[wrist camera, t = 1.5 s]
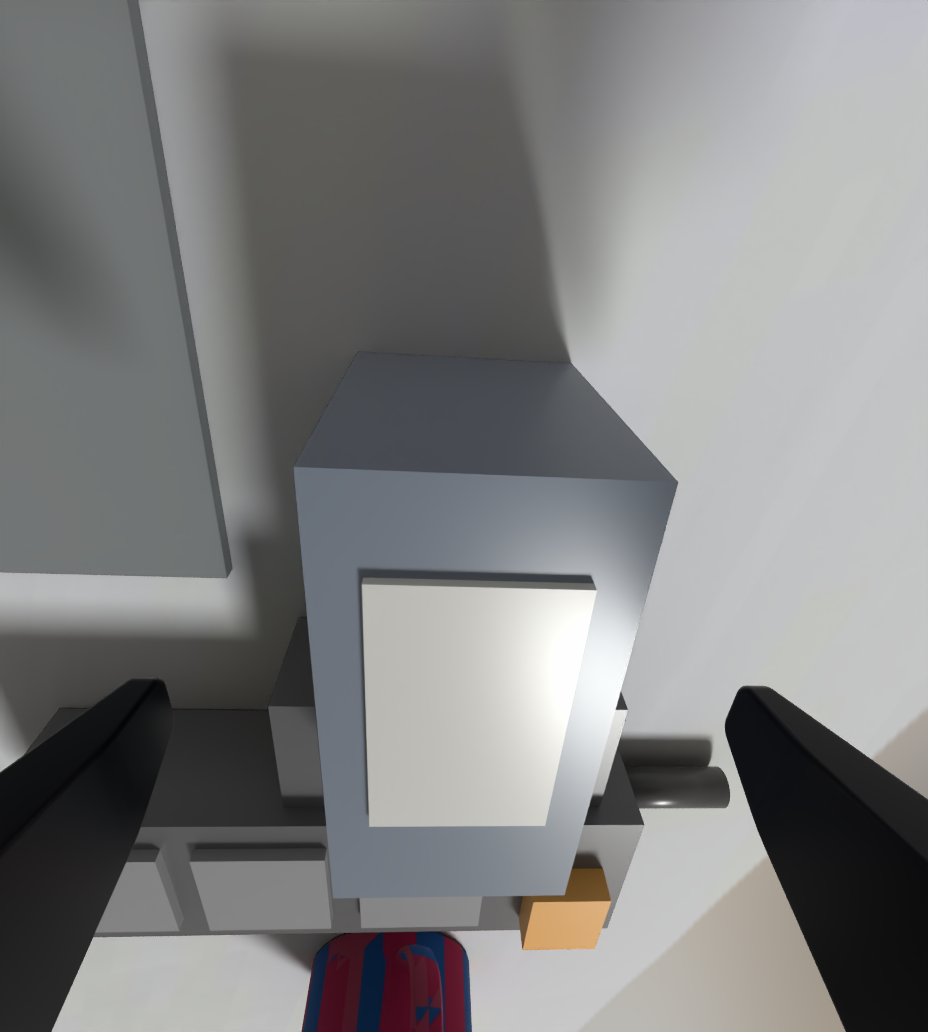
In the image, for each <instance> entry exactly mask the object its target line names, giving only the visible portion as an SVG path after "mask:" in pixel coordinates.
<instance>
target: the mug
mask: <svg viewBox="0 0 928 1032" xmlns="http://www.w3.org/2000/svg"><path fill="white" fill-rule="evenodd" d="M302 1032H472V1024H471V1001H470V977H469V960H468V957H467V954H466V953H465V952H464V950H463V949H462V947H461V946H460V945H459V944H458V943H456V942H455V941H454V940H452V939H451V938H449V937H447V936H445V935H443V934H440V933H438V932H435V931H421V932H364V933H347V934H344V935H341V936H339V937H337V938H335V939H333V940H332V941H330V942H329V943H327V944H326V945H325V946H324V947H323V948H322V949H321V950H320V951H319V952H318V953H317V955H316V957H315V959H314V961H313V966H312V972H311V978H310V984H309V990H308V996H307V1002H306V1008H305V1014H304V1020H303V1026H302Z"/></svg>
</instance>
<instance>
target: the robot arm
mask: <svg viewBox="0 0 928 1032" xmlns="http://www.w3.org/2000/svg"><path fill="white" fill-rule="evenodd" d="M173 725H174V716H173V711H172V708H171V704H170V700H169V696H168V693H167V689H166V685H165V683H164V681H163V680H162V679H160V678H132V679H130V680H128V681H127V682H125V683H124V684H122V685H121V686H120V687H118V688H117V689H115V690H114V691H113V692H111V693H110V694H108V695H107V696H106V697H104V698H103V699H102V700H100V701H99V702H97V703H96V704H95V705H93V706H92V707H90V708H89V709H88V710H86V711H85V712H83V713H82V714H81V715H79V716H78V717H76V718H75V719H74V720H72V721H71V722H69V723H68V724H67V725H65V726H64V727H63V728H61V729H60V730H58V731H57V732H56V733H54V734H53V735H51V736H50V737H49V738H47V739H46V740H44V741H43V742H42V743H40V744H39V745H37V746H36V747H35V748H33V749H32V750H30V751H29V752H28V753H26V754H25V755H24V756H22V757H21V758H19V759H18V760H17V761H15V762H14V763H12V764H11V765H10V766H8V767H7V768H5V769H4V770H3V771H1V772H0V1032H51V1031H52V1029H53V1027H54V1024H55V1022H56V1020H57V1018H58V1015H59V1013H60V1011H61V1009H62V1006H63V1004H64V1002H65V1000H66V997H67V995H68V993H69V991H70V988H71V986H72V984H73V982H74V979H75V977H76V975H77V973H78V970H79V968H80V966H81V964H82V961H83V959H84V957H85V954H86V952H87V950H88V948H89V945H90V943H91V941H92V939H93V936H94V934H95V932H96V930H97V927H98V925H99V923H100V921H101V918H102V916H103V914H104V912H105V909H106V907H107V905H108V903H109V900H110V898H111V896H112V894H113V891H114V889H115V887H116V885H117V882H118V880H119V878H120V876H121V873H122V871H123V869H124V867H125V864H126V862H127V860H128V858H129V855H130V853H131V851H132V848H133V846H134V843H135V841H136V839H137V836H138V834H139V831H140V828H141V825H142V822H143V820H144V817H145V814H146V811H147V808H148V805H149V801H150V798H151V795H152V792H153V789H154V786H155V783H156V780H157V777H158V774H159V771H160V768H161V765H162V762H163V759H164V755H165V752H166V749H167V746H168V743H169V740H170V737H171V734H172V731H173ZM725 733H726V737H727V740H728V743H729V746H730V749H731V752H732V755H733V758H734V761H735V765H736V768H737V771H738V774H739V777H740V780H741V783H742V786H743V789H744V792H745V795H746V798H747V801H748V804H749V807H750V810H751V813H752V816H753V819H754V821H755V824H756V827H757V830H758V832H759V835H760V837H761V839H762V842H763V844H764V847H765V849H766V851H767V854H768V856H769V858H770V860H771V863H772V865H773V867H774V869H775V872H776V874H777V876H778V879H779V881H780V883H781V885H782V888H783V890H784V892H785V894H786V897H787V899H788V901H789V904H790V906H791V908H792V910H793V912H794V915H795V917H796V920H797V922H798V924H799V926H800V929H801V931H802V933H803V935H804V938H805V940H806V942H807V945H808V947H809V949H810V951H811V953H812V956H813V958H814V960H815V963H816V965H817V967H818V970H819V972H820V974H821V976H822V978H823V981H824V983H825V985H826V988H827V990H828V992H829V995H830V997H831V999H832V1001H833V1004H834V1006H835V1008H836V1011H837V1013H838V1015H839V1017H840V1020H841V1022H842V1024H843V1026H844V1029H845V1031H846V1032H928V799H927V798H925V797H924V796H922V795H921V794H919V793H918V792H917V791H915V790H914V789H912V788H911V787H909V786H908V785H907V784H905V783H904V782H903V781H901V780H900V779H898V778H897V777H895V776H894V775H893V774H891V773H890V772H888V771H887V770H885V769H884V768H883V767H881V766H880V765H879V764H877V763H876V762H874V761H873V760H872V759H870V758H869V757H867V756H866V755H865V754H863V753H862V752H860V751H859V750H857V749H856V748H855V747H853V746H852V745H850V744H849V743H848V742H846V741H845V740H843V739H842V738H841V737H839V736H838V735H836V734H835V733H834V732H832V731H831V730H829V729H828V728H826V727H825V726H824V725H822V724H821V723H819V722H818V721H817V720H815V719H814V718H812V717H811V716H810V715H808V714H807V713H805V712H804V711H802V710H801V709H800V708H798V707H797V706H795V705H794V704H793V703H791V702H790V701H788V700H787V699H786V698H784V697H783V696H781V695H780V694H779V693H777V692H776V691H774V690H773V689H771V688H769V687H766V686H742V687H741V688H740V689H739V690H738V692H737V694H736V696H735V699H734V701H733V704H732V706H731V708H730V711H729V713H728V716H727V718H726V721H725Z"/></svg>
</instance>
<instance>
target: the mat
mask: <svg viewBox="0 0 928 1032" xmlns="http://www.w3.org/2000/svg"><path fill="white" fill-rule="evenodd" d="M231 570H232V563H231V557H230V551H229V545H228V539H227V533H226V527H225V521H224V515H223V509H222V503H221V497H220V491H219V485H218V479H217V473H216V467H215V461H214V455H213V449H212V443H211V437H210V431H209V425H208V419H207V413H206V407H205V401H204V395H203V389H202V383H201V377H200V371H199V365H198V359H197V353H196V347H195V341H194V335H193V329H192V322H191V316H190V310H189V304H188V298H187V292H186V286H185V280H184V274H183V268H182V262H181V256H180V250H179V244H178V238H177V232H176V226H175V220H174V214H173V208H172V202H171V196H170V190H169V184H168V178H167V172H166V166H165V160H164V154H163V148H162V142H161V136H160V130H159V124H158V118H157V112H156V106H155V100H154V94H153V88H152V82H151V76H150V69H149V63H148V57H147V51H146V45H145V39H144V33H143V27H142V21H141V15H140V9H139V3H138V0H0V572H7V573H46V574H85V575H123V576H162V577H200V578H227V577H228V576H229V574H230V572H231Z"/></svg>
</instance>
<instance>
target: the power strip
mask: <svg viewBox="0 0 928 1032" xmlns="http://www.w3.org/2000/svg"><path fill="white" fill-rule="evenodd" d="M268 709H269V711H263V710H172V711H173V716H174V725H173V731H172V734H171V737H170V740H169V743H168V746H167V749H166V752H165V755H164V759H163V762H162V765H161V768H160V771H159V774H158V777H157V780H156V783H155V786H154V789H153V792H152V795H151V798H150V801H149V805H148V808H147V811H146V814H145V817H144V820H143V822H142V825H141V828H140V831H139V834H138V836H137V839H136V841H135V843H134V846H133V848H132V851H131V853H130V855H129V858H128V860H127V862H126V864H125V867H124V869H123V871H122V873H121V876H120V878H119V880H118V882H117V885H116V887H115V889H114V891H113V894H112V896H111V898H110V900H109V903H108V905H107V907H106V909H105V912H104V914H103V916H102V918H101V921H100V923H99V925H98V927H97V930H96V932H95V934H94V936H93V937H133V936H191V935H248V934H306V933H364V932H421V931H479V930H520V932H521V941H522V949H523V950H550V949H595V946H596V943H597V941H598V938H599V935H600V932H601V929H602V928H607V927H608V924H609V921H610V919H611V916H612V913H613V910H614V908H615V905H616V902H617V899H618V896H619V894H620V891H621V888H622V885H623V883H624V880H625V877H626V874H627V872H628V869H629V866H630V863H631V861H632V858H633V855H634V852H635V849H636V847H637V844H638V841H639V838H640V836H641V833H642V830H643V827H644V822H643V820H642V817H641V814H640V811H639V808H726V807H727V806H728V804H729V801H730V789H729V784H728V781H727V778H726V776H725V774H724V772H723V771H722V770H721V769H720V768H719V767H675V766H624V764H623V761H622V758H621V755H620V752H619V749H618V743H619V739H620V736H621V733H622V729H623V726H624V722H625V719H626V715H627V712H628V709H627V706H626V704H625V701H624V698H623V696H622V693H621V692H620V695H619V699H618V703H617V706H616V710H615V713H614V717H613V721H612V724H611V728H610V732H609V735H608V739H607V742H606V746H605V750H604V753H603V757H602V761H601V764H600V768H599V771H598V775H597V779H596V782H595V786H594V790H593V793H592V797H591V801H590V804H589V808H588V811H587V815H586V819H585V822H584V826H583V830H582V833H581V837H580V840H579V844H578V848H577V851H576V855H575V859H574V862H573V866H572V869H571V873H570V877H569V880H568V884H567V888H566V891H565V895H546V896H473V897H401V898H333V892H332V881H331V870H330V859H329V848H328V838H327V827H326V816H325V805H324V794H323V783H322V773H321V762H320V751H319V740H318V729H317V718H316V708H315V697H314V686H313V675H312V664H311V653H310V643H309V632H308V621H307V618H298V620H297V623H296V626H295V629H294V632H293V635H292V638H291V641H290V644H289V646H288V649H287V652H286V655H285V658H284V661H283V664H282V667H281V670H280V673H279V676H278V679H277V682H276V685H275V688H274V690H273V693H272V696H271V699H270V702H269V705H268ZM86 710H88V709H61V708H59V710H58V711H57V712H56V714H55V715H54V716H53V718H52V719H51V720H50V721H49V723H48V724H47V725H46V727H45V728H44V729H43V731H42V732H41V733H40V735H39V736H38V737H37V739H36V740H35V741H34V743H33V744H32V745H31V746H30V748H29V749H28V750H27V752H26V753H28V752H29V751H30V750H32V749H33V748H35V747H36V746H37V745H39V744H40V743H42V742H43V741H44V740H46V739H47V738H49V737H50V736H51V735H53V734H54V733H56V732H57V731H58V730H60V729H61V728H63V727H64V726H65V725H67V724H68V723H69V722H71V721H72V720H74V719H75V718H76V717H78V716H79V715H81V714H82V713H83V712H85V711H86ZM26 753H25V754H26ZM25 754H24V755H25Z"/></svg>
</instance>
